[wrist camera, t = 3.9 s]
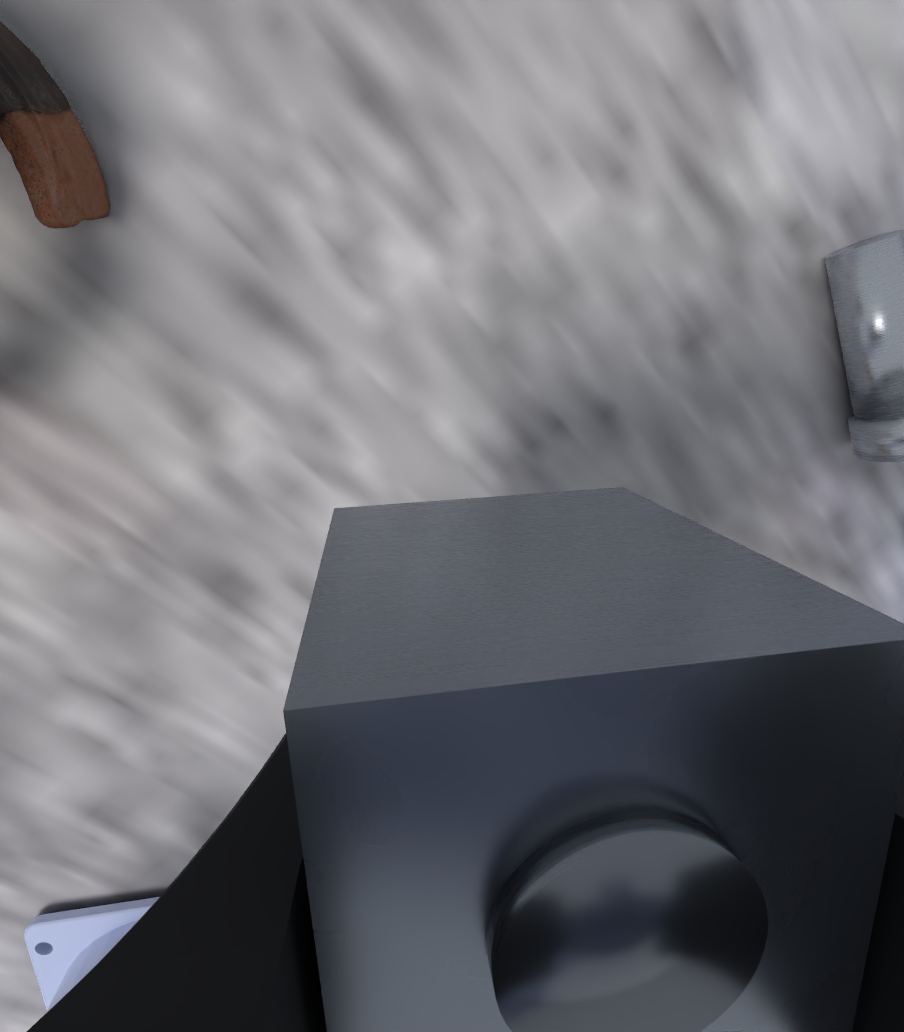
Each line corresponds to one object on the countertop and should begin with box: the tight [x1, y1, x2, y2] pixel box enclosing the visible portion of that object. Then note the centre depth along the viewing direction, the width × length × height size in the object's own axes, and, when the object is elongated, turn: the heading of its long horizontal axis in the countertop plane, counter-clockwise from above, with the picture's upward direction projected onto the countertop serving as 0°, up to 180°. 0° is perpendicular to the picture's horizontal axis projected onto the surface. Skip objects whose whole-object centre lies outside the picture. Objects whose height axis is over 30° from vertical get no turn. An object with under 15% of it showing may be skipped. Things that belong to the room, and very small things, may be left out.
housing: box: [283, 487, 904, 1032], centre depth 7 cm, size 7×5×6 cm
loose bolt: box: [825, 230, 904, 462], centre depth 16 cm, size 6×3×3 cm, turn 23°
